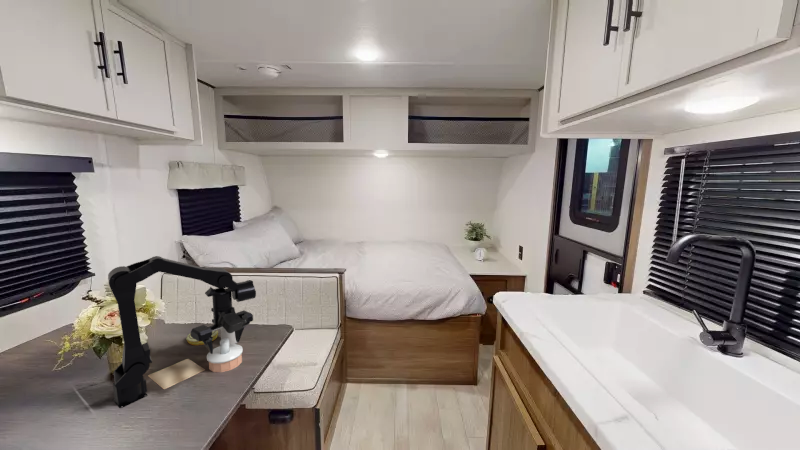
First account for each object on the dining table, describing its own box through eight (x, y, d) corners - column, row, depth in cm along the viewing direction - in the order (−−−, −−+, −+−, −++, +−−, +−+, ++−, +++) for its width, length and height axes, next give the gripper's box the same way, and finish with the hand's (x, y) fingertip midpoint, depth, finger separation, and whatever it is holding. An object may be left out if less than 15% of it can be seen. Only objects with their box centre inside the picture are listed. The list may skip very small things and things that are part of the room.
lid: (217, 367, 102) (216, 352, 101) (200, 356, 107) (199, 342, 107) (249, 352, 111) (248, 338, 110) (231, 343, 117) (230, 330, 116)
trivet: (164, 391, 96) (164, 389, 96) (147, 377, 102) (147, 375, 102) (205, 371, 106) (205, 369, 106) (188, 360, 112) (187, 358, 112)
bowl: (219, 377, 103) (218, 366, 102) (203, 367, 108) (203, 356, 108) (247, 362, 111) (247, 352, 111) (232, 353, 117) (231, 343, 116)
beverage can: (234, 347, 121) (232, 318, 119) (217, 347, 121) (216, 318, 119) (242, 339, 127) (241, 311, 125) (227, 338, 127) (225, 311, 126)
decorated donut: (202, 333, 132) (202, 324, 131) (224, 336, 129) (223, 327, 129) (180, 345, 122) (179, 336, 121) (203, 349, 119) (202, 340, 119)
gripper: (206, 321, 94) (209, 368, 97) (261, 302, 110) (263, 343, 112) (188, 312, 100) (191, 357, 103) (243, 295, 116) (245, 334, 118)
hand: (225, 347), depth 109 cm, fingers open, 9 cm apart
